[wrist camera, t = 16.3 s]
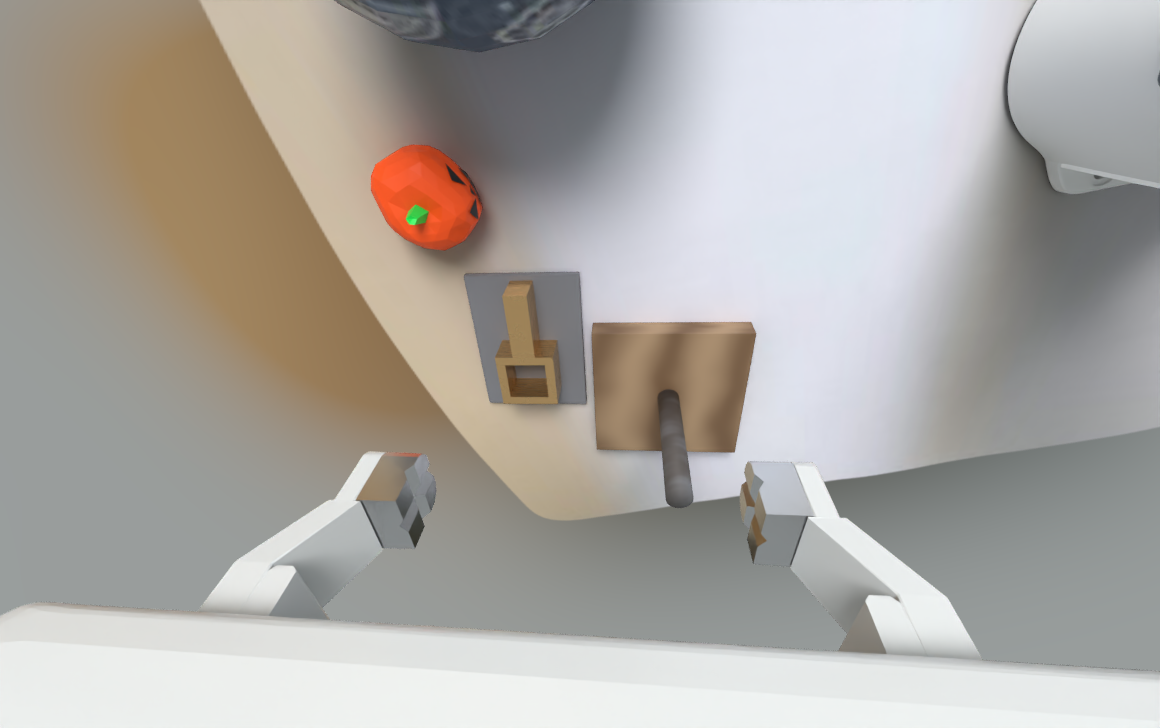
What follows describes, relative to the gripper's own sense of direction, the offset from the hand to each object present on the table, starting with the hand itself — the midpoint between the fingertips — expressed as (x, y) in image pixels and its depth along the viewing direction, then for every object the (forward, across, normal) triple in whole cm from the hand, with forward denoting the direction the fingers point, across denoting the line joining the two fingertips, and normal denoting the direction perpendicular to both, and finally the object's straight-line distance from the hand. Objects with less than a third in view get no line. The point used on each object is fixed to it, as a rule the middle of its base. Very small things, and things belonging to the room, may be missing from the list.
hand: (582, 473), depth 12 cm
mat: (+29, +8, +14) cm, 33 cm away
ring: (+28, +8, +13) cm, 32 cm away
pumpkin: (+29, +14, 0) cm, 33 cm away
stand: (+29, -5, +19) cm, 35 cm away
